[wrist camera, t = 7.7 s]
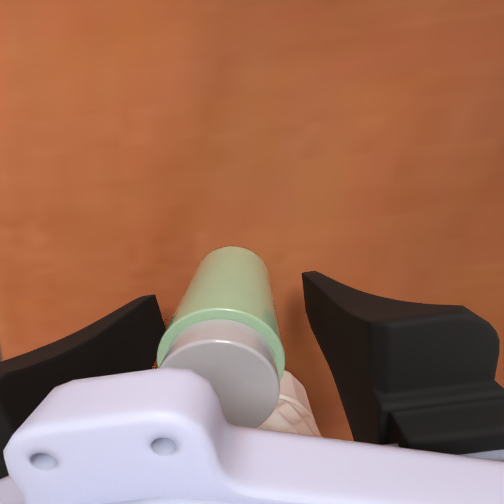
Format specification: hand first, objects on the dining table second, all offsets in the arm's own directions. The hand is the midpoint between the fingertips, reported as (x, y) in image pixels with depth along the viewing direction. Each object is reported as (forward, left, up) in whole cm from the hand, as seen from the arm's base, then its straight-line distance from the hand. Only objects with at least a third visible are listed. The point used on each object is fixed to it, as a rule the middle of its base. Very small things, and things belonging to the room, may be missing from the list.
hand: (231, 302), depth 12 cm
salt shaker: (0, 0, -2) cm, 2 cm away
